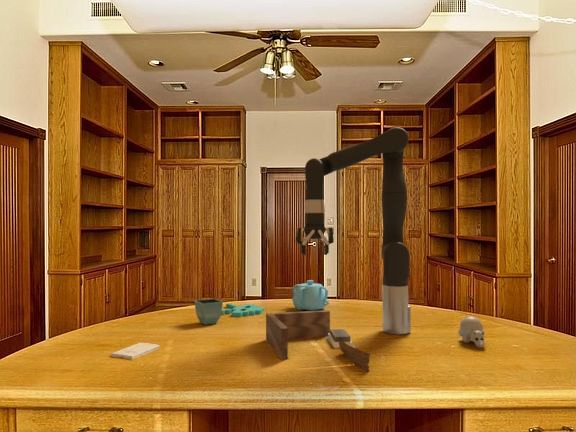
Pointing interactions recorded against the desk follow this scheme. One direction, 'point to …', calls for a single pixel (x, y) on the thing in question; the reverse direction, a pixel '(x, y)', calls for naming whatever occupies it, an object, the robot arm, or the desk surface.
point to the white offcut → (336, 344)
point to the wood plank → (355, 355)
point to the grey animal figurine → (472, 331)
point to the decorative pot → (310, 296)
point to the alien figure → (242, 310)
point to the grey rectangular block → (339, 335)
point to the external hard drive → (135, 350)
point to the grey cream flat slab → (332, 345)
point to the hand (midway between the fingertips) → (314, 255)
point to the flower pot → (208, 310)
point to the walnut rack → (295, 328)
